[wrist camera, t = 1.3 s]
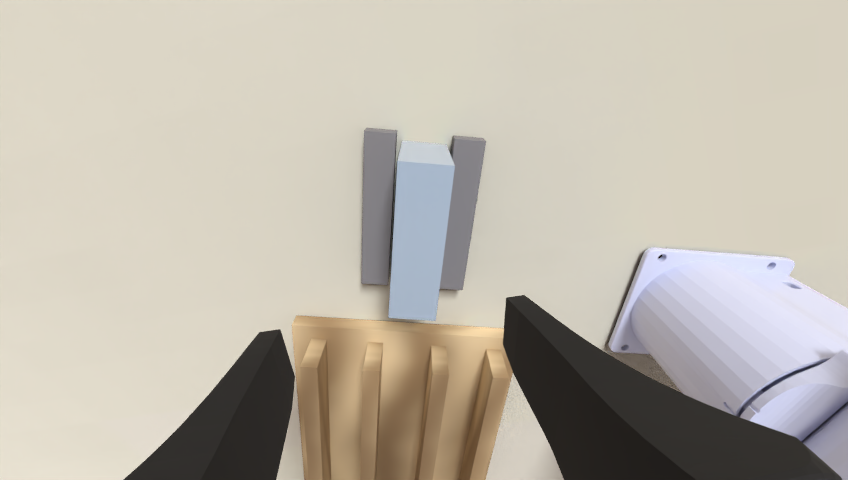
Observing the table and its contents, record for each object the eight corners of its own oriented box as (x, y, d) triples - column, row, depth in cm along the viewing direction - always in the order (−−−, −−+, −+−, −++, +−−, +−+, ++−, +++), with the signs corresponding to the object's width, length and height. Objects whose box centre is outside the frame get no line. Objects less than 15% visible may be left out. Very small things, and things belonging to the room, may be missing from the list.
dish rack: (517, 329, 25) (531, 367, 22) (477, 489, 32) (484, 534, 29) (296, 315, 24) (278, 352, 21) (309, 482, 32) (296, 528, 28)
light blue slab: (446, 144, 20) (455, 165, 15) (432, 271, 23) (435, 320, 18) (402, 140, 19) (397, 161, 15) (394, 269, 23) (388, 317, 18)
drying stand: (482, 138, 19) (486, 141, 18) (460, 281, 23) (462, 290, 22) (366, 127, 19) (364, 130, 18) (363, 274, 23) (361, 283, 22)
